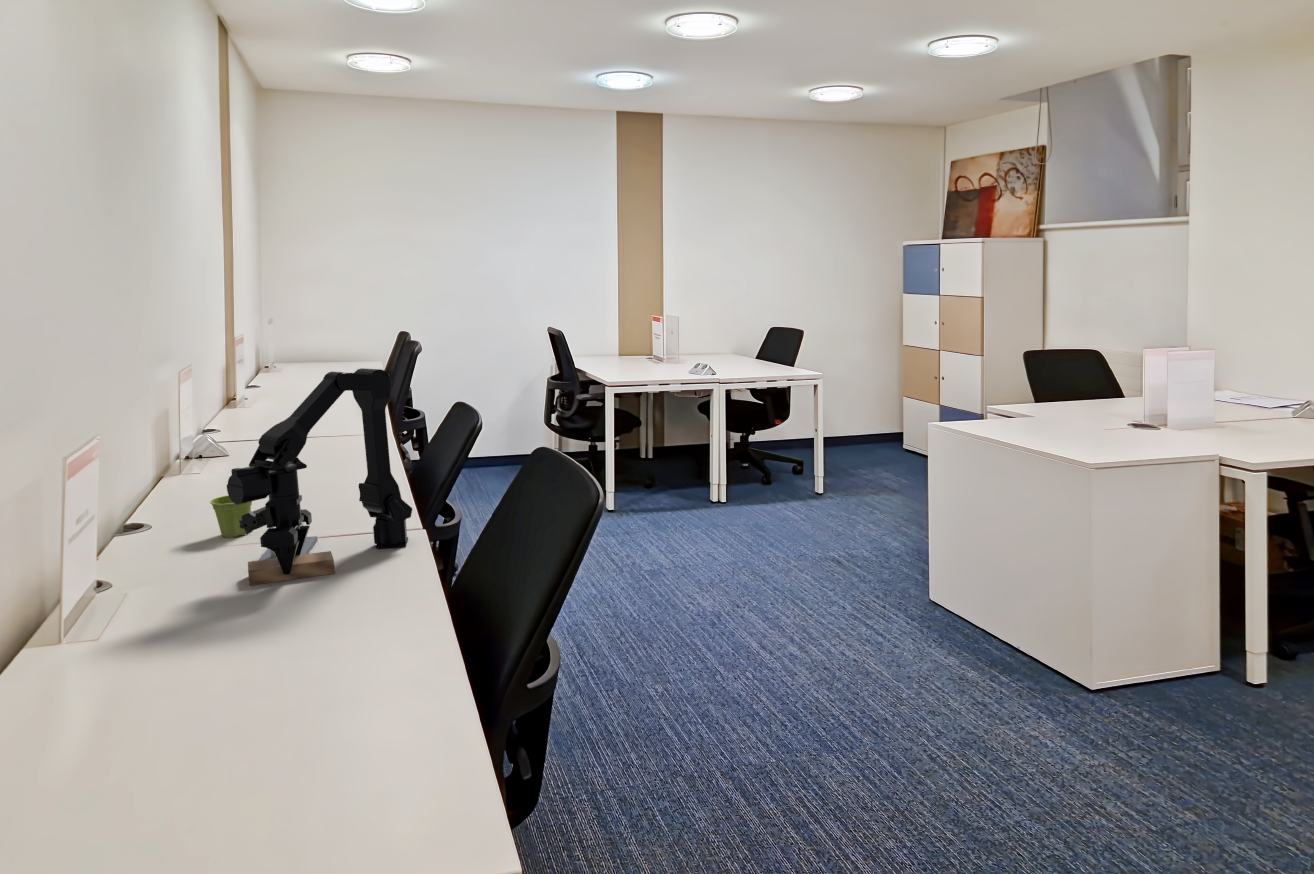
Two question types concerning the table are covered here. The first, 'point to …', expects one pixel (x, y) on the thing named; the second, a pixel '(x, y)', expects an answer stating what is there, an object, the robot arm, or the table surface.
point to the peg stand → (305, 550)
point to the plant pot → (230, 515)
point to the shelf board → (300, 569)
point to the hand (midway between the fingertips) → (290, 568)
